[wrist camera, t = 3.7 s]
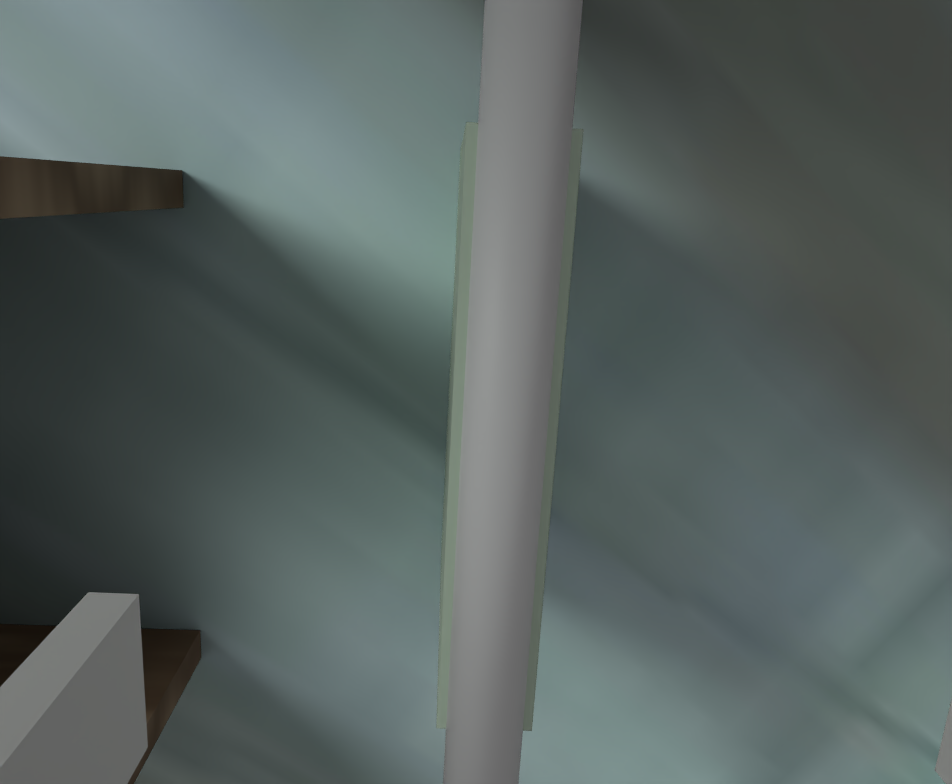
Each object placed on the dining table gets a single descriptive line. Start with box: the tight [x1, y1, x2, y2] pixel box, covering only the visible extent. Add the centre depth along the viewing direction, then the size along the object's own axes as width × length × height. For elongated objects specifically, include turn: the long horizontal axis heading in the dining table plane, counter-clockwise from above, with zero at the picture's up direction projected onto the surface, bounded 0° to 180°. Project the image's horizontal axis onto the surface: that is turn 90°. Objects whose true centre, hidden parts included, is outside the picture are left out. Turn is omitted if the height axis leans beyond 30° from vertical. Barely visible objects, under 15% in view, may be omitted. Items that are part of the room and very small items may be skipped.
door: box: [437, 0, 583, 784], centre depth 28 cm, size 25×4×14 cm, turn 177°
